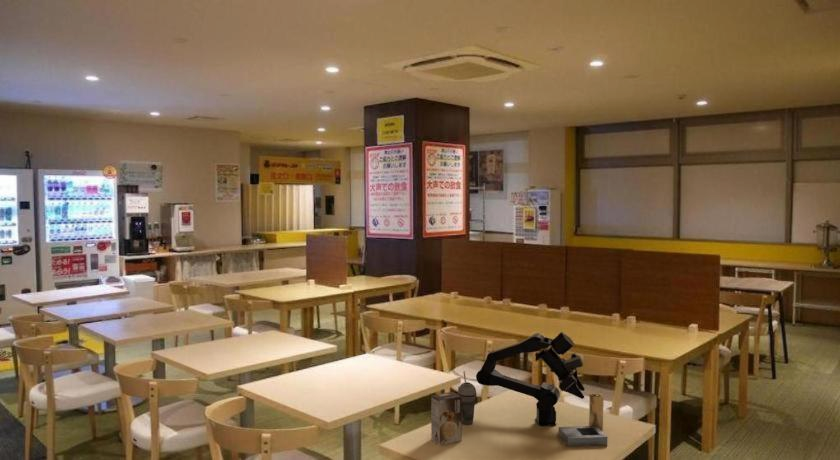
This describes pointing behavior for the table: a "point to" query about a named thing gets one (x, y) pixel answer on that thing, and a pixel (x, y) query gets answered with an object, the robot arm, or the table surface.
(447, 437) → the coffee box
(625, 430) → the table surface
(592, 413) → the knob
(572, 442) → the frame
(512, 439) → the table surface
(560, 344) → the robot arm
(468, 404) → the beverage cup
